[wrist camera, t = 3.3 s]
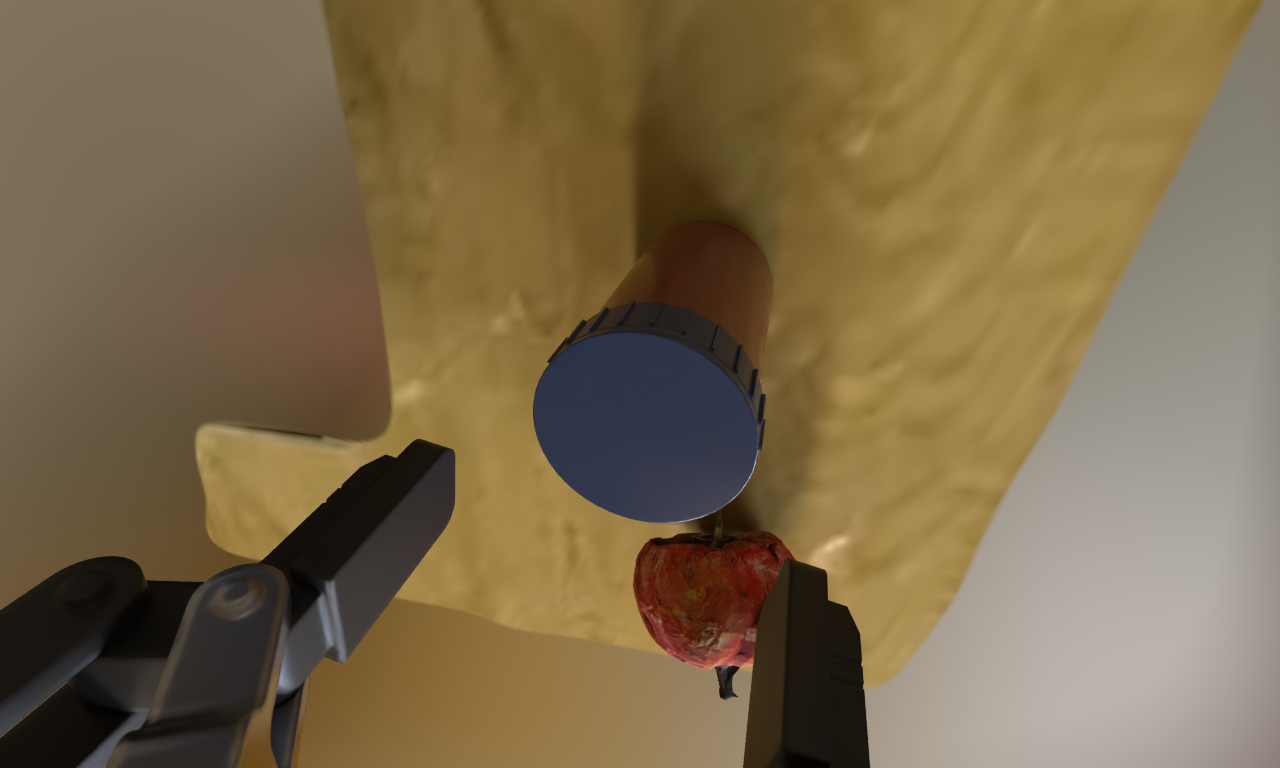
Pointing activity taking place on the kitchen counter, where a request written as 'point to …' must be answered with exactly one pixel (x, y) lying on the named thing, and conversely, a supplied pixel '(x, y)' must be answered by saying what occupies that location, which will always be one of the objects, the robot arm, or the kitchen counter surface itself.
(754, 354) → the jar
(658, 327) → the lid
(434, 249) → the kitchen counter surface
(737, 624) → the pomegranate
